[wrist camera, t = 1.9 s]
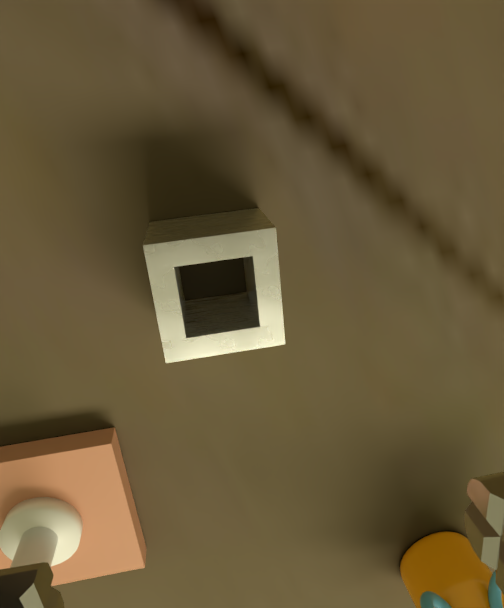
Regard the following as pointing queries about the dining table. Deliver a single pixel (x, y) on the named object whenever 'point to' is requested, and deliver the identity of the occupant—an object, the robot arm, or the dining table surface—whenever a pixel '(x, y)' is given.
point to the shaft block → (69, 507)
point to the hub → (220, 309)
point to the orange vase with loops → (448, 574)
